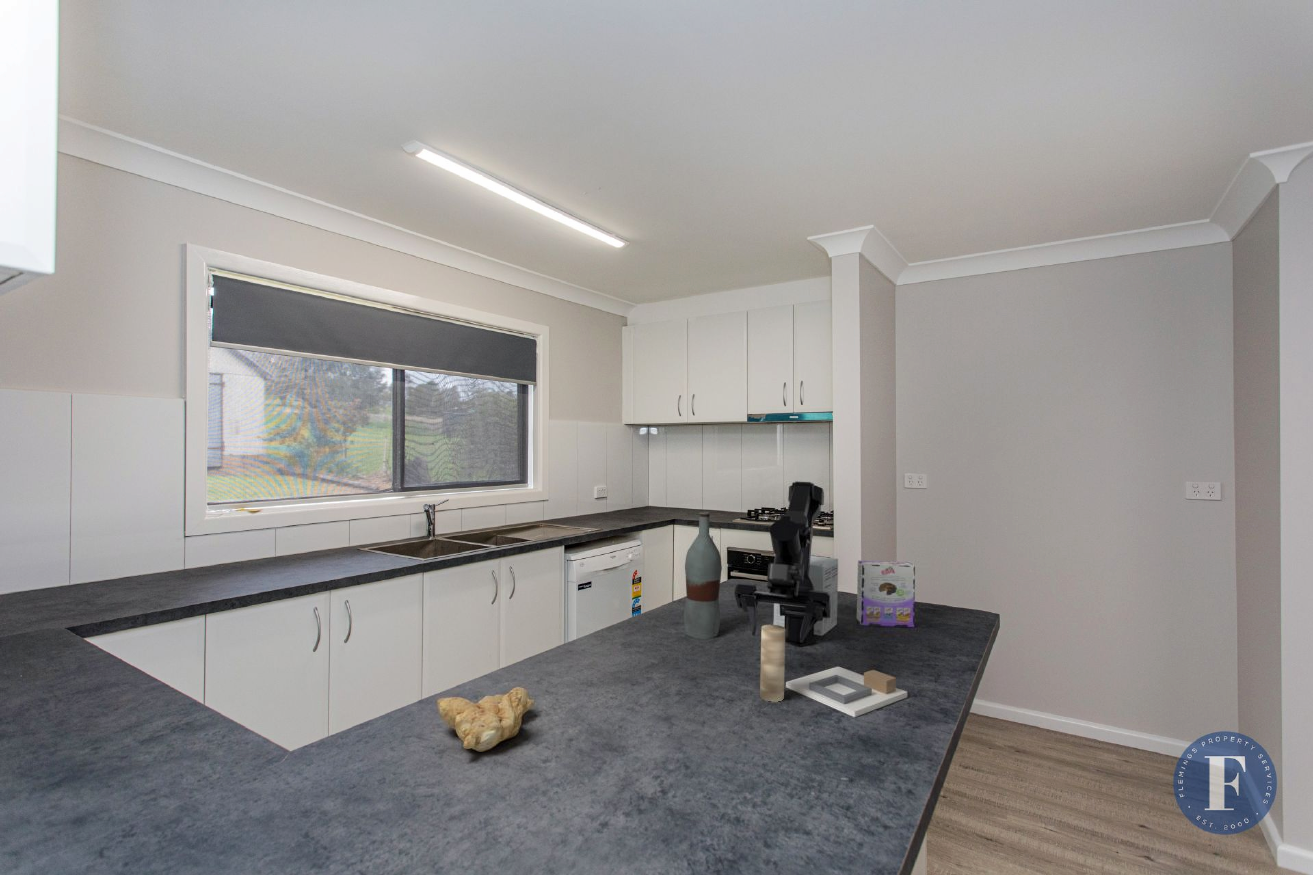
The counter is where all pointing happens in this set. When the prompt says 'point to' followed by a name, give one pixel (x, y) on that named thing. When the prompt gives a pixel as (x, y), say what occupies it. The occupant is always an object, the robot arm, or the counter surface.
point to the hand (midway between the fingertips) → (776, 637)
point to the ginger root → (485, 717)
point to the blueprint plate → (849, 690)
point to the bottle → (702, 584)
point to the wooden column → (772, 663)
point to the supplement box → (823, 580)
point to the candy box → (886, 593)
